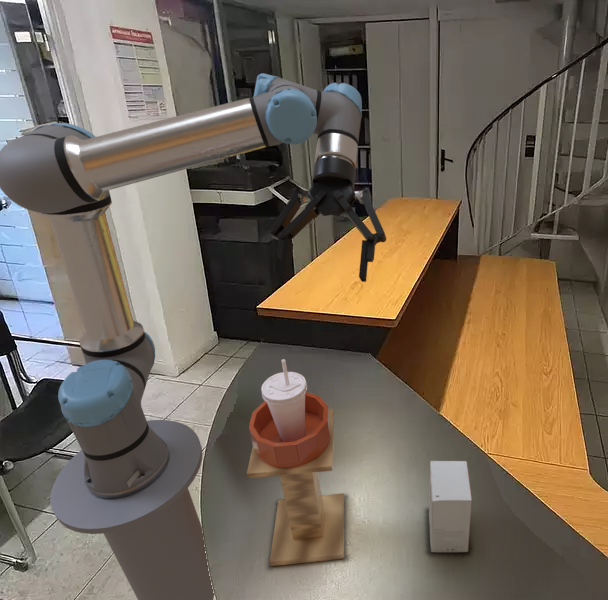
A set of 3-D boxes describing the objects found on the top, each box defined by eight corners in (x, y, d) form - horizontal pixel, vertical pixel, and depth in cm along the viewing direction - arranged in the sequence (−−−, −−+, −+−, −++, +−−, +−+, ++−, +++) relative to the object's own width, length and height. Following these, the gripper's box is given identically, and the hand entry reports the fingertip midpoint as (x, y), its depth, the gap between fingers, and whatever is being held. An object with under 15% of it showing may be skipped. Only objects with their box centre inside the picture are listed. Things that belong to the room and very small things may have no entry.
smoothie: (310, 450, 71) (298, 374, 64) (266, 451, 71) (250, 375, 64) (316, 419, 76) (306, 346, 69) (276, 420, 76) (261, 347, 69)
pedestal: (270, 566, 79) (246, 473, 68) (279, 503, 90) (259, 414, 79) (344, 558, 80) (331, 466, 69) (344, 497, 90) (333, 408, 80)
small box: (468, 553, 80) (472, 501, 74) (430, 553, 81) (431, 501, 74) (463, 510, 87) (467, 459, 81) (428, 510, 88) (429, 460, 81)
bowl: (248, 471, 69) (243, 449, 66) (261, 415, 78) (256, 394, 76) (329, 464, 69) (326, 441, 67) (331, 409, 79) (329, 388, 77)
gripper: (405, 177, 90) (398, 287, 84) (275, 176, 92) (260, 282, 87) (402, 155, 82) (393, 273, 77) (261, 154, 85) (243, 268, 80)
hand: (323, 278), depth 82 cm, fingers open, 13 cm apart
